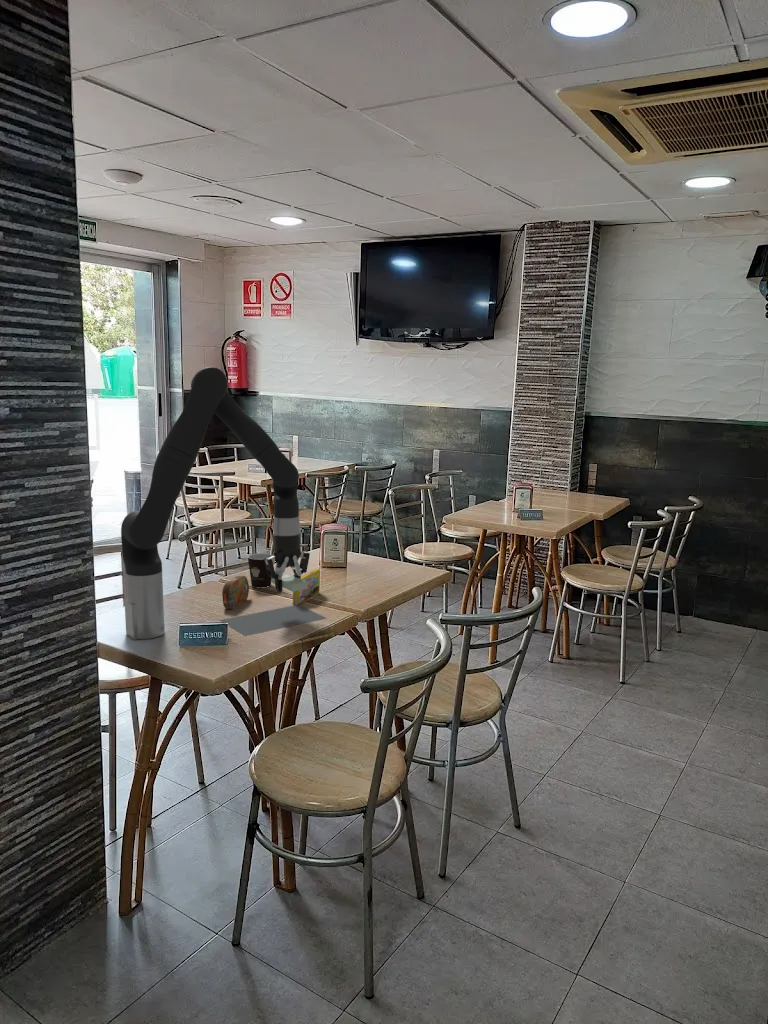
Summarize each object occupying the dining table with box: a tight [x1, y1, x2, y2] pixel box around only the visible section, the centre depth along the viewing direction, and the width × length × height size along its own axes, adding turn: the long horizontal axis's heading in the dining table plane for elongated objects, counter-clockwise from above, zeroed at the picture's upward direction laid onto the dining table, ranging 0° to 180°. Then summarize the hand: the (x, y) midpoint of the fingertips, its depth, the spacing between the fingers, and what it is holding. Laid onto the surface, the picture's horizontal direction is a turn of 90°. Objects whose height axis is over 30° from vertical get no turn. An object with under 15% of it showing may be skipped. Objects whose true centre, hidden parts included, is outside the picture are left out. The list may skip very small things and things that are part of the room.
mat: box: [218, 604, 328, 637], centre depth 208 cm, size 26×16×1 cm, turn 127°
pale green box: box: [271, 572, 308, 593], centre depth 209 cm, size 5×2×12 cm
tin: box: [221, 575, 250, 610], centre depth 222 cm, size 15×3×8 cm, turn 168°
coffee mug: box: [247, 553, 281, 588], centre depth 243 cm, size 12×9×10 cm
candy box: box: [292, 568, 321, 606], centre depth 229 cm, size 16×2×8 cm, turn 161°
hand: (288, 589), depth 210 cm, fingers closed on pale green box, 5 cm apart
